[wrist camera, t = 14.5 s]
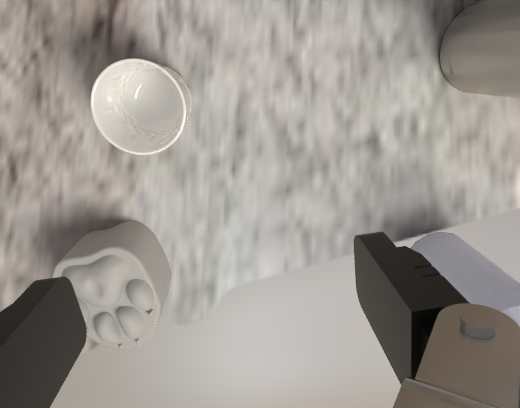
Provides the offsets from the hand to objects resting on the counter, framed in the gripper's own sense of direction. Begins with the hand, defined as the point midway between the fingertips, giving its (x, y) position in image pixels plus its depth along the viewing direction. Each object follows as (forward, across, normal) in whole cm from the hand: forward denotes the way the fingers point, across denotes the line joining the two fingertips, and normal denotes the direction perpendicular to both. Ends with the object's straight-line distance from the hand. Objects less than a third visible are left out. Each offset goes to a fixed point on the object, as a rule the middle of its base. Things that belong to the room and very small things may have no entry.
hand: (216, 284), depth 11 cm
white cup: (+34, +7, -4) cm, 35 cm away
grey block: (+34, +16, +17) cm, 41 cm away
